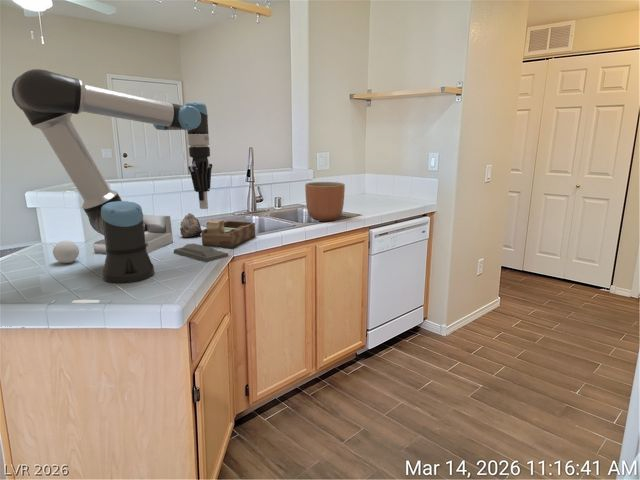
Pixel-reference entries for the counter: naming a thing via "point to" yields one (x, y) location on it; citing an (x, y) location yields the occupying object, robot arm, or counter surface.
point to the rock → (190, 226)
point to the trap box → (230, 235)
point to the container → (149, 234)
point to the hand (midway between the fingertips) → (204, 208)
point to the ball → (66, 251)
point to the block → (215, 227)
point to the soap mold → (200, 252)
